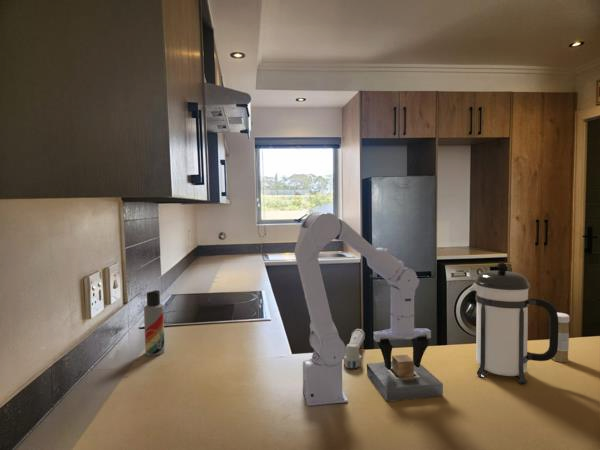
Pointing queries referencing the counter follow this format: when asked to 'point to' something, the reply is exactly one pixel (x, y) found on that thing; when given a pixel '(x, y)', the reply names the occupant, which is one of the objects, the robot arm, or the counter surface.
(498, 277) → the coffee press
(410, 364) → the oak peg
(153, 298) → the lotion bottle
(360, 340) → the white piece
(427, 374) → the grey socket base
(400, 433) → the counter surface
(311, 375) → the robot arm
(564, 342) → the sprinkles bottle
